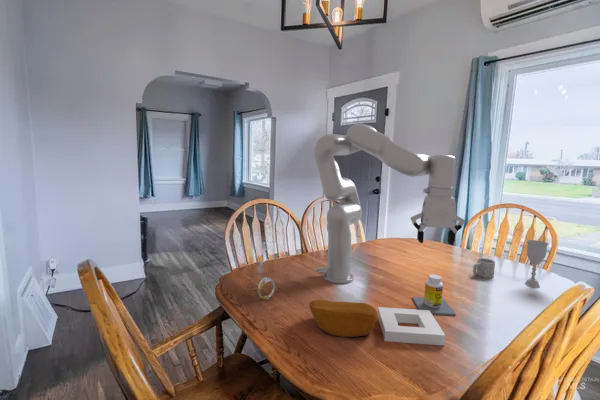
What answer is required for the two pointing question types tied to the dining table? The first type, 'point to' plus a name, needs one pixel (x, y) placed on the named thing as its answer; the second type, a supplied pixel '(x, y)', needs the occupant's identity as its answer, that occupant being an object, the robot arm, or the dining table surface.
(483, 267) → the mug
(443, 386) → the dining table surface
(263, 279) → the ring
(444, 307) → the slate mat
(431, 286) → the supplement bottle
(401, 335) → the pocket block
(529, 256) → the chalice
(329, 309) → the bread
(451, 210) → the robot arm
